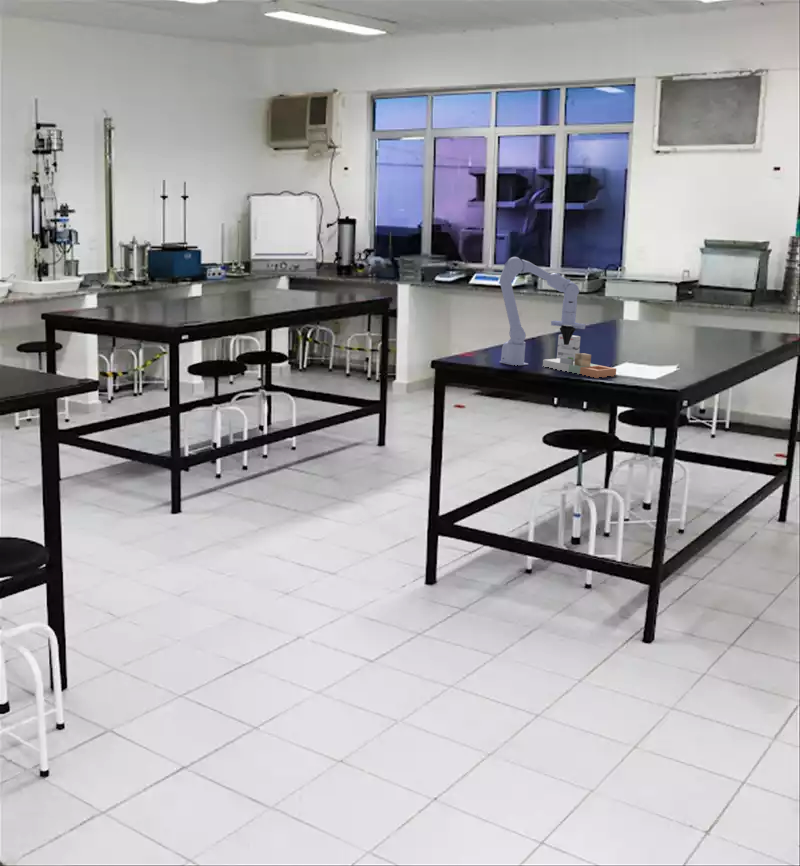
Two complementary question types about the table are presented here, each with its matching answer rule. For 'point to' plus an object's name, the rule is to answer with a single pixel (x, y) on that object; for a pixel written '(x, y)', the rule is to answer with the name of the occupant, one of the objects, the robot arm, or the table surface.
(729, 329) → the table surface
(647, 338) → the table surface
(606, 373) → the channel deck
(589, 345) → the table surface
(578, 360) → the maple block
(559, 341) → the ink box
